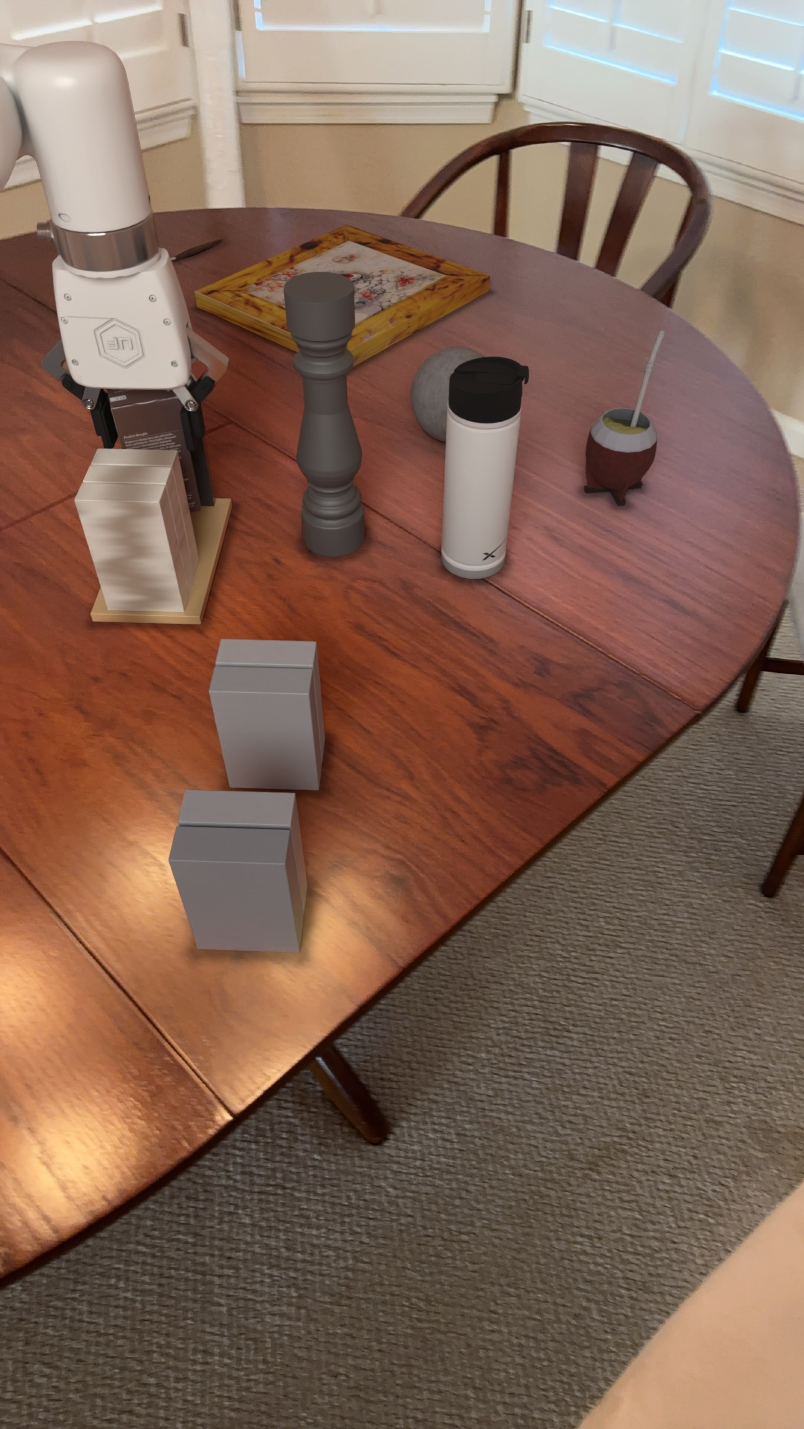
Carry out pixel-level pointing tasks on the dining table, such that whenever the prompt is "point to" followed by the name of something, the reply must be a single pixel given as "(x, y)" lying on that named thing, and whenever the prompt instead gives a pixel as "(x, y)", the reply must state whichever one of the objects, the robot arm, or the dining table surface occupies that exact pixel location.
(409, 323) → the picture frame
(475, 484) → the travel mug
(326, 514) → the candle holder
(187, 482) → the box
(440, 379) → the decorative ball
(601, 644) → the dining table surface
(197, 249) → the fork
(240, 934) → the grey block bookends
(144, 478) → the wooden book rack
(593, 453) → the mate gourd
